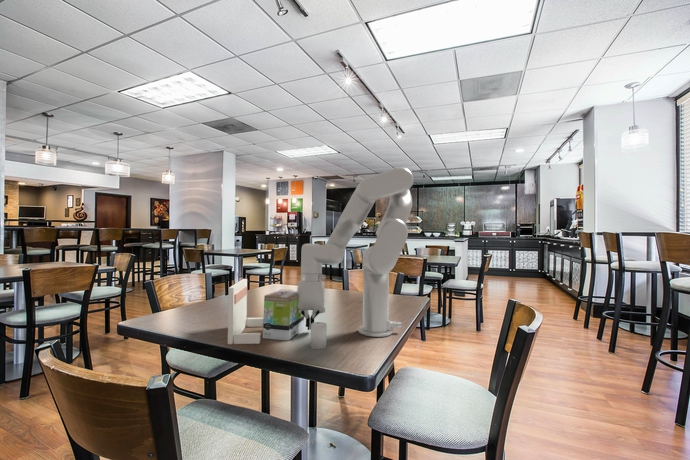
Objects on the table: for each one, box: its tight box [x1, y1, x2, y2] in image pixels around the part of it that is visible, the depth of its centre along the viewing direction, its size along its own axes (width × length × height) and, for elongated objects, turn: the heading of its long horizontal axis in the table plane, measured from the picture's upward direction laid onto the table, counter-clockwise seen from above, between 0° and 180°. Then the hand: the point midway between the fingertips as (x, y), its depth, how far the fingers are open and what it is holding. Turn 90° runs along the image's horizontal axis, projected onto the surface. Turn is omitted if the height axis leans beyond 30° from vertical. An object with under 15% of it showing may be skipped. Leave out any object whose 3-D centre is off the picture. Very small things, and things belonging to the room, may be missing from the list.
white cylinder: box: [310, 321, 327, 350], centre depth 103 cm, size 5×5×7 cm
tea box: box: [262, 288, 305, 341], centre depth 116 cm, size 15×10×15 cm, turn 168°
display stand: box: [227, 278, 263, 345], centre depth 115 cm, size 10×21×18 cm, turn 5°
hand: (309, 328), depth 117 cm, fingers closed
